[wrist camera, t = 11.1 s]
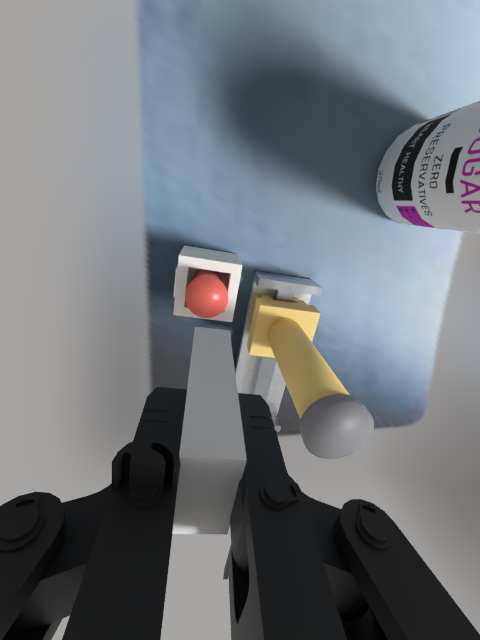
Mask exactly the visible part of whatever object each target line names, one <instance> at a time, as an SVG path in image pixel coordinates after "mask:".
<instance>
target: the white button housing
mask: <svg viewBox="0 0 480 640" xmlns="http://www.w3.org/2000/svg"><path fill="white" fill-rule="evenodd" d="M242 266H243V265H242V263H241V261H240V259H239V257H238V255H237V254H234V253H228V252H222V251H215V250H209V249H203V248H197V247H191V246H185V245H184V247H183V249H182V250H181V252H180V254H179V259H178V266H177V268H176V273H175V284H174V295H173V297H175V302H174V312H173V315H178V316H186V317H194V318H202V317H198V316H196V315H195V314H193V313H192V312H191V311H190V310H189V308H188V307H187V304H186V301H185V295H186V290H187V287H188V285H189V284H190V282H191V281H192V280H193V277H194V274H195V273H196V272H197V271H198V270H199V269H205V270H212V271H218V273H219V274H220V276H221V279H222V282H223V283H224V285H225V286H226V289H227V293H228V303H227V306H226V308H225V309H224V311H223V312H222V313H221V314H219V315H218V316H215V317H212V318H202V319H210V320H218V321H226V322H232V321H233V315H234V310H235V304H236V299H237V293H238V288H239V282H240V277H241V271H242Z"/></svg>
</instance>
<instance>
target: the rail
mask: <svg viewBox="0 0 480 640" xmlns="http://www.w3.org/2000/svg"><path fill="white" fill-rule="evenodd" d="M321 291H322V287H321V286H320V285H318V284H317V283H316V282H314V281H313V280H312V279H306V278H300V277H294V276H287V275H281V274H274V273H268V272H261V271H254V276H253V281H252V286H251V291H250V296H249V301H248V306H247V311H246V316H245V321H244V326H243V331H242V336H241V341H240V346H239V351H238V356H237V361H236V366H235V375H236V383H237V390H238V393H244V394H256V395H261V396H262V398H263V399H264V400H265V401H266V403H267V404H268V405H269V408H270V412H271V415H272V420H273V423H274V426H275V430H276V431H280V428H281V424H280V421H279V418H278V415H277V413H278V410H279V406H280V403H281V399H282V396H283V392H284V389H285V385H286V383H285V381H284V378H283V376H282V373H281V371H280V368H279V366H278V364H277V361H276V359H275V358H273V357H263V356H254V355H249V351H248V347H247V342H248V337H249V332H250V327H251V323H252V318H253V313H254V308H255V304H256V299H257V298H260V296H261V295H268V296H271V297H272V299H273V300H277V301H285V302H292V303H293V301H294V299H296V300H303V301H304V302H305V303H306V304H307V305H309V301H310V298H311V295H317V296H320V294H321Z"/></svg>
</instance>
